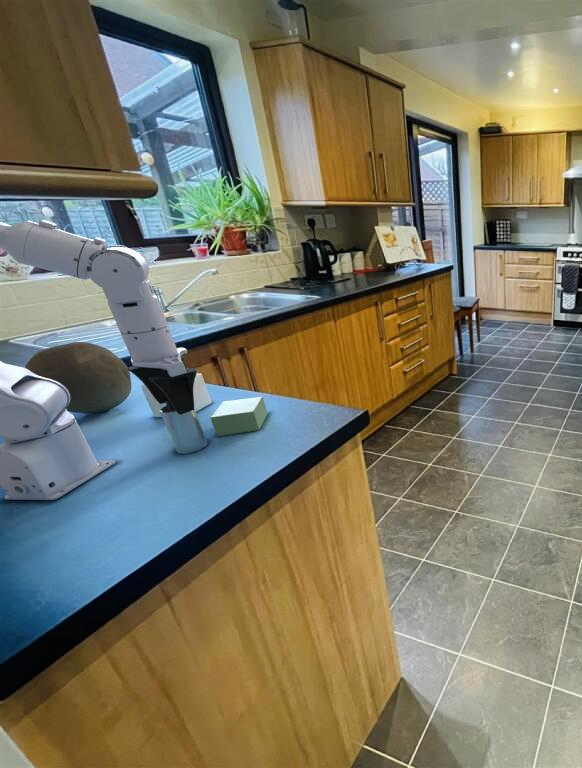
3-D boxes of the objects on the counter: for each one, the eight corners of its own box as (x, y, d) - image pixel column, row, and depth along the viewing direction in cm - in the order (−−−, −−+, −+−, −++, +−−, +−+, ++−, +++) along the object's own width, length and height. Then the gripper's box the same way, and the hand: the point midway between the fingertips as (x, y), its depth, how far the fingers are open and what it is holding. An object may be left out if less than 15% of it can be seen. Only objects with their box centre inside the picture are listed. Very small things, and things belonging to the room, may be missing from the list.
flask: (194, 454, 69) (175, 404, 65) (170, 453, 69) (149, 404, 65) (213, 440, 73) (195, 393, 69) (190, 440, 73) (171, 393, 69)
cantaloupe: (107, 395, 92) (77, 332, 85) (158, 399, 89) (131, 334, 83) (29, 426, 79) (-13, 354, 73) (87, 431, 77) (48, 358, 70)
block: (259, 430, 76) (253, 411, 74) (217, 436, 74) (210, 417, 72) (267, 413, 82) (262, 396, 80) (228, 419, 80) (222, 401, 78)
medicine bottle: (213, 403, 87) (194, 350, 82) (185, 418, 81) (163, 363, 76) (183, 402, 88) (162, 350, 83) (153, 417, 81) (129, 362, 76)
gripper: (195, 328, 62) (223, 406, 67) (157, 317, 69) (185, 389, 74) (137, 340, 56) (173, 425, 62) (103, 327, 63) (137, 403, 69)
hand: (176, 406), depth 68 cm, fingers open, 7 cm apart
